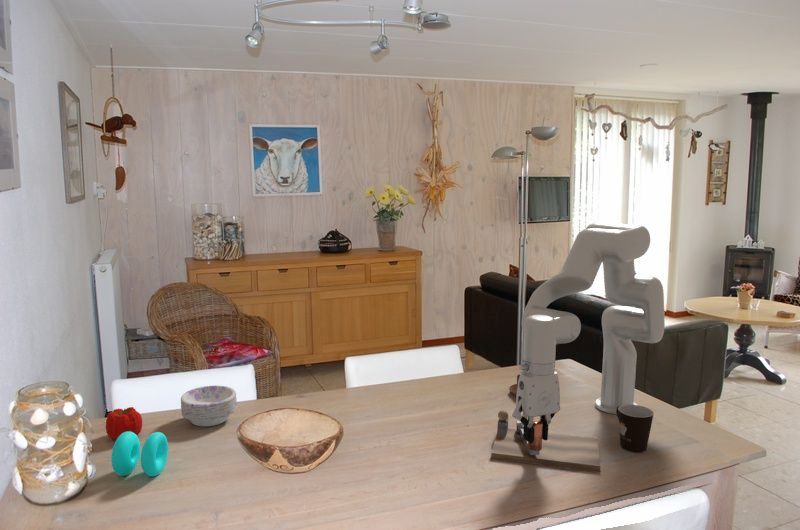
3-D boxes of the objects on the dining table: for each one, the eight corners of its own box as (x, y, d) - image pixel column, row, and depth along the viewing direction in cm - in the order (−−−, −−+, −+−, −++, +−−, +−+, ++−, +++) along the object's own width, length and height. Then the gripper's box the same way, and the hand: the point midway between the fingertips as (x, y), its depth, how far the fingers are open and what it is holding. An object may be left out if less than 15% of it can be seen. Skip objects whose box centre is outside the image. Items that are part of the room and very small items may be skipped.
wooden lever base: (498, 431, 168) (499, 406, 167) (596, 443, 161) (598, 416, 160) (491, 458, 152) (492, 430, 151) (600, 472, 145) (601, 443, 144)
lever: (514, 426, 165) (515, 397, 164) (527, 427, 165) (528, 397, 164) (528, 458, 147) (529, 425, 146) (543, 458, 147) (544, 425, 146)
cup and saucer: (508, 387, 203) (509, 370, 202) (545, 389, 201) (545, 372, 200) (509, 401, 191) (510, 382, 190) (548, 403, 190) (549, 384, 189)
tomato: (148, 436, 164) (146, 410, 163) (114, 447, 157) (112, 420, 156) (133, 426, 170) (131, 401, 169) (100, 436, 164) (98, 410, 163)
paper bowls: (195, 436, 164) (193, 408, 163) (173, 419, 176) (172, 392, 174) (246, 421, 174) (245, 395, 173) (223, 406, 186) (222, 381, 184)
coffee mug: (654, 456, 154) (656, 418, 152) (618, 452, 156) (620, 415, 154) (645, 436, 165) (647, 401, 164) (612, 434, 167) (614, 399, 165)
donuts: (130, 463, 149) (128, 424, 148) (171, 463, 149) (169, 425, 147) (110, 483, 139) (107, 442, 138) (153, 484, 139) (151, 443, 137)
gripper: (519, 376, 138) (516, 452, 141) (576, 367, 145) (572, 440, 148) (500, 366, 145) (498, 439, 148) (556, 358, 152) (552, 428, 155)
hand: (535, 438), depth 148 cm, fingers closed on lever, 3 cm apart
